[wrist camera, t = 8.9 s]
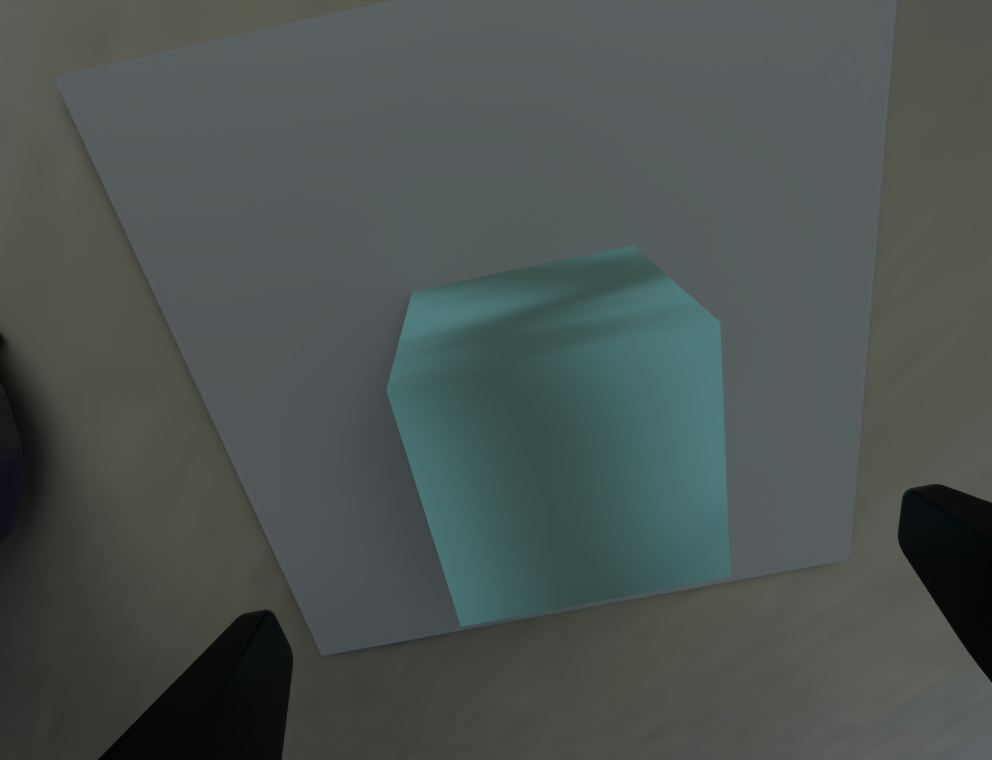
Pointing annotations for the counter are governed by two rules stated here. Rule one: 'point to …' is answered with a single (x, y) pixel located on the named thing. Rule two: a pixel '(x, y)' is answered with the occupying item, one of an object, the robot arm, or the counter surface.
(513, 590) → the teal block
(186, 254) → the slate pad
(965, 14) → the counter surface
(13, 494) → the thermos flask
